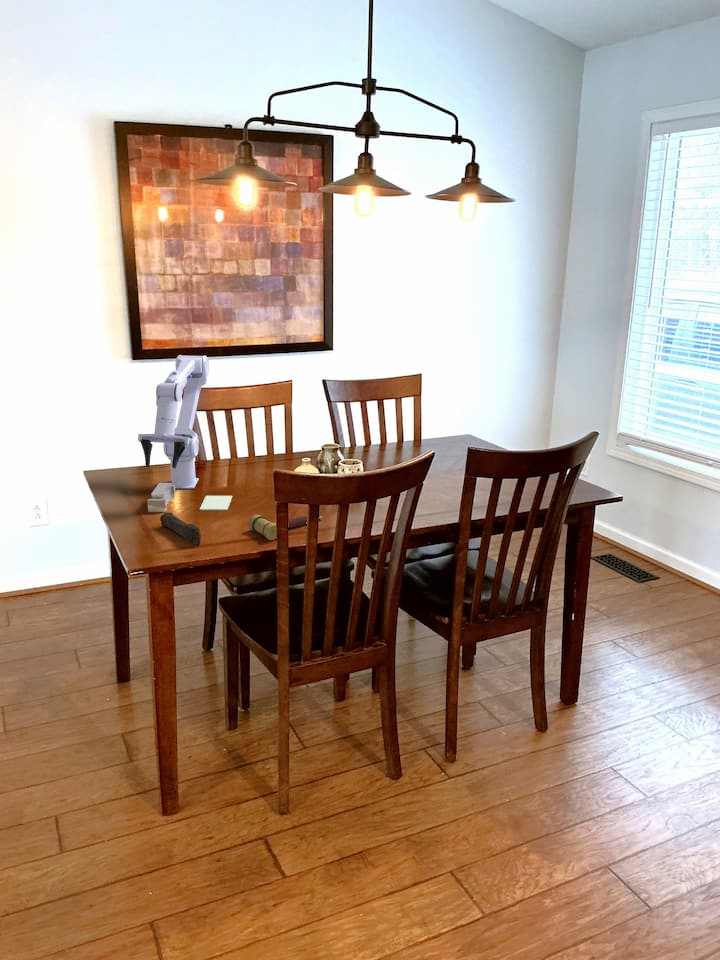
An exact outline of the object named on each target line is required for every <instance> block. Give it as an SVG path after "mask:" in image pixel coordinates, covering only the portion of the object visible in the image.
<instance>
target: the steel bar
mask: <svg viewBox="0 0 720 960" xmlns="http://www.w3.org/2000/svg"><path fill="white" fill-rule="evenodd" d="M171 498H172V499H173V497H172V494H171V482H159V483H158V484H157V486H156V487H155V488H154V489H153V491H152V492H151V499H166V506H168V505H169V503H170V502H171V500H172V499H171ZM170 499H171V500H170ZM169 501H170V502H169ZM168 502H169V503H168ZM167 504H168V505H167Z"/></svg>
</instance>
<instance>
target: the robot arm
mask: <svg viewBox="0 0 720 960" xmlns="http://www.w3.org/2000/svg"><path fill="white" fill-rule="evenodd" d="M209 374H210V361H209V358H208V357H207V355H182V354H179V355H178V356H177V357H176V358H175V370H172V371H171V372H170V373H169V375H168V376H167V378H166V379H165V380H164V382H160V383H159V384H157V385H156V389H155V398H156V401H155V403H156V404H155V405H156V406H157V407H156V408H157V409H156V415H155V426H154V433H138V435H137V436H138V437H137V442H139V443H140V444H141V447H142V451H143V455H144V461H145V466H146V467H147V468H148V467H149V468H150V465H151V455H152V449H153V444H152V443H163V454H164V455H165V457H167V458H168V460H169V462H170V476H171V479H170V480H171V482H170V483H171V485H175V489H194V488H195V487H196V485H197V483H198V482H199V478H198V477H196V465H195V464H196V463H195V459H196V457H197V456H198V455H199V449H200V447H199V443H200V440H199V436H198V434H197V432H195V431H194V428H193V427H194V421H195V419H196V412H197V409H198V408H197V407H198V402H199V398H200V393H201V390H202V387H203V386H205V385H206V384H207V382H208V378H209ZM180 402H181V406H180V411H179V415H178V420H177V413H178V403H180ZM176 421H177V424H176Z"/></svg>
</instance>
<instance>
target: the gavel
mask: <svg viewBox="0 0 720 960" xmlns="http://www.w3.org/2000/svg"><path fill="white" fill-rule="evenodd" d="M307 516H308V515H305V516H297V517H293V518H292V517H291V518H288V519H289V528H288V529H292V528H296V527H297V526H298V527H303V526H307V525H306V522H307ZM322 519H323V517H322V516H321V515H320V520H319V521H321V520H322ZM276 522H277V521H273V522H271V521H269V520H266V518H265V517H264V516H263V515H260V514H254V515H252V516H251V517H250V518H249V520H248V522H247V524H248V528H249V529H250V530H251V531H253V532H254V533H257V534H258V533H259V534H260V535H262V536H264V538H265V539H267V540H269V541H270V540H272V539H276ZM302 525H303V526H302ZM298 527H297V528H298ZM255 531H257V532H255Z"/></svg>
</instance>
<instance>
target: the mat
mask: <svg viewBox="0 0 720 960" xmlns="http://www.w3.org/2000/svg"><path fill="white" fill-rule="evenodd" d="M232 498H233V495H205V497H204V499H203V501H202V503H201V506H200V507H199V511H228V510H229V507H230V504H231V502H232V500H233V499H232Z"/></svg>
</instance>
